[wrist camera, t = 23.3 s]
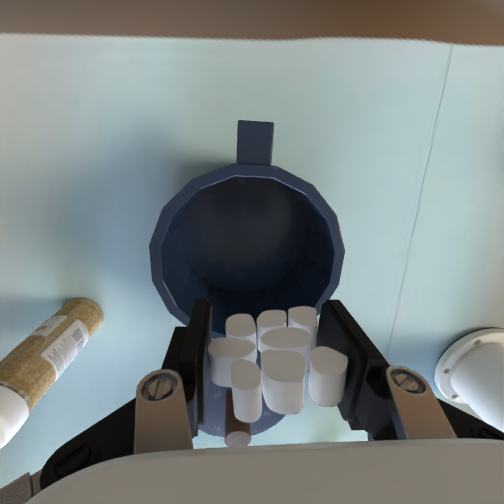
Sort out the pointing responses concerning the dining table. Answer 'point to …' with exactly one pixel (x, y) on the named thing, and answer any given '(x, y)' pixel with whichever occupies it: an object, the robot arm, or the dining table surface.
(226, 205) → the pot
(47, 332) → the sprinkles bottle
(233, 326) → the white marshmallow cluster
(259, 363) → the pot lid
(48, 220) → the dining table surface
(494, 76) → the dining table surface
